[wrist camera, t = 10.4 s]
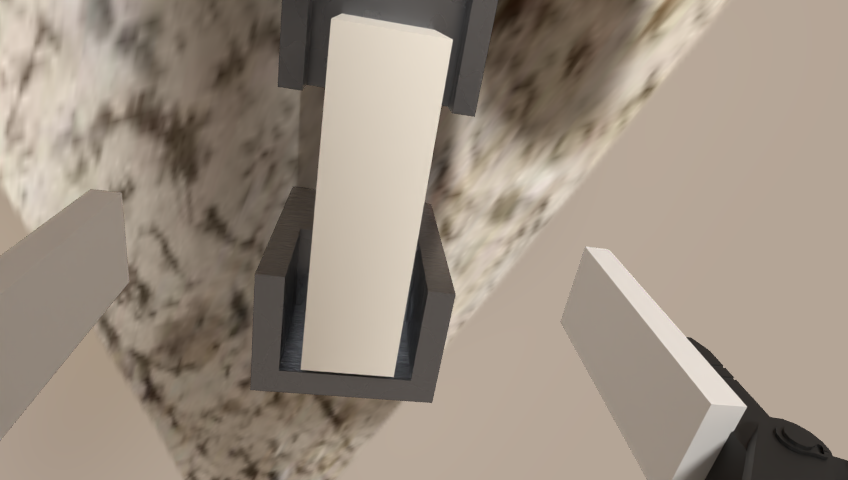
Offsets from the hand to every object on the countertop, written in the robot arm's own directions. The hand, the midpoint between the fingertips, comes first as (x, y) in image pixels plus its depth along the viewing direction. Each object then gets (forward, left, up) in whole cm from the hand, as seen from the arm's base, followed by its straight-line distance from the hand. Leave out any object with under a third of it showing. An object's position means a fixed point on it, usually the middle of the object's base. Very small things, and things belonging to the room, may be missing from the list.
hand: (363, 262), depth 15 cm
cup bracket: (+7, 0, -17) cm, 18 cm away
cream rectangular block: (+1, 0, -11) cm, 11 cm away
